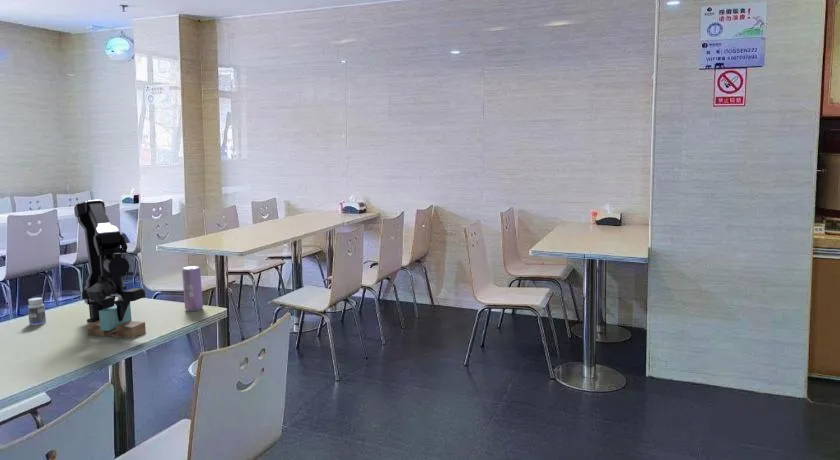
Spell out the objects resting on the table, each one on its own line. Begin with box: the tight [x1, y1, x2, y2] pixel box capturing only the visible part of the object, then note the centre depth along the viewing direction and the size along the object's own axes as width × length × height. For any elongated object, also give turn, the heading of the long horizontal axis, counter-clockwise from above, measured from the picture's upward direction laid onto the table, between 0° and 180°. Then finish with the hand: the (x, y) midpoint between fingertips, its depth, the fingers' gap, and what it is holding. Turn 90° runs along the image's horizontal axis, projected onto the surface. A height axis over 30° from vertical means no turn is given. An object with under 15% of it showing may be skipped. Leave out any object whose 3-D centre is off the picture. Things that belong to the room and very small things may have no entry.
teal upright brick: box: [99, 303, 133, 331], centre depth 195 cm, size 3×10×6 cm, turn 166°
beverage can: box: [181, 265, 204, 312], centre depth 222 cm, size 6×6×15 cm
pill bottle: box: [27, 297, 47, 326], centre depth 209 cm, size 5×5×8 cm
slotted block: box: [86, 320, 146, 339], centre depth 196 cm, size 16×6×3 cm, turn 76°
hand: (116, 320), depth 196 cm, fingers closed on teal upright brick, 3 cm apart
